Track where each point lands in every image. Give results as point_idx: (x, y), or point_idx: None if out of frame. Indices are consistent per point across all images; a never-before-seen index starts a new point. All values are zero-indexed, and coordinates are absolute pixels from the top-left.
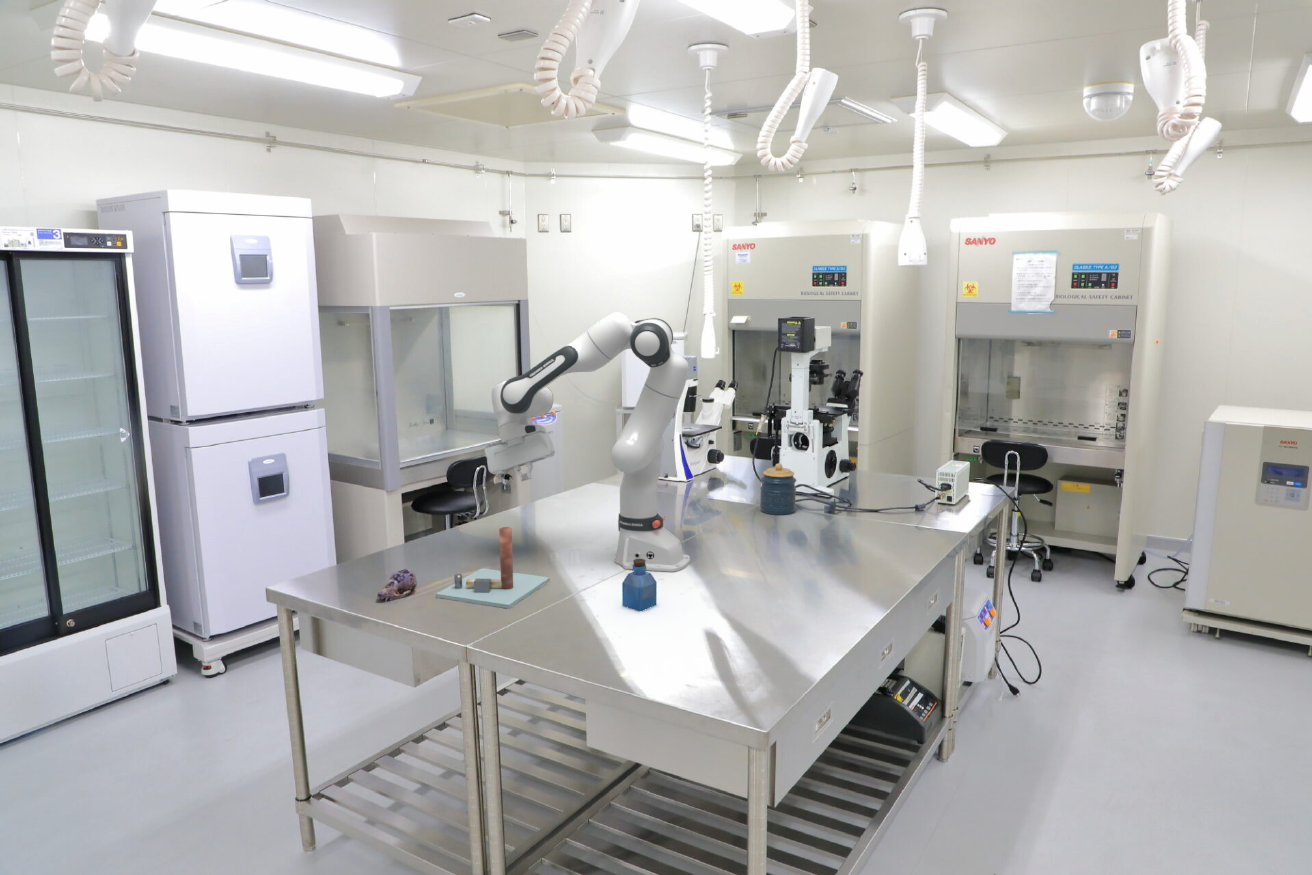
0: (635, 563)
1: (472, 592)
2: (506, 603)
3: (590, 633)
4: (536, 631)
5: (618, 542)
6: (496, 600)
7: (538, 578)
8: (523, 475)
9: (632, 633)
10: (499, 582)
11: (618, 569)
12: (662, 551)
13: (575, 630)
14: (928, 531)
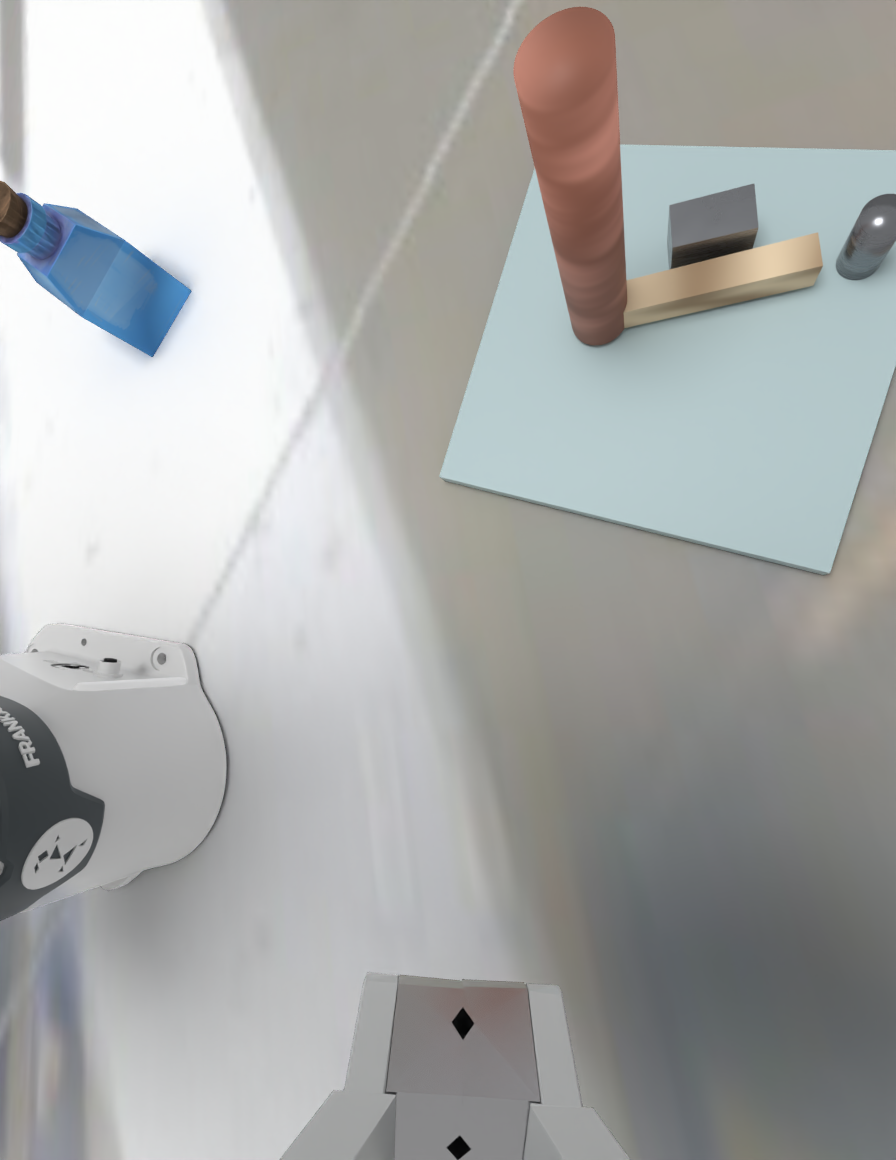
0: (10, 188)
1: None
2: None
3: (261, 65)
4: (409, 14)
5: (152, 775)
6: None
7: (485, 458)
8: (484, 1063)
9: (164, 108)
10: (631, 282)
11: (213, 645)
12: (16, 658)
13: (301, 68)
14: None
